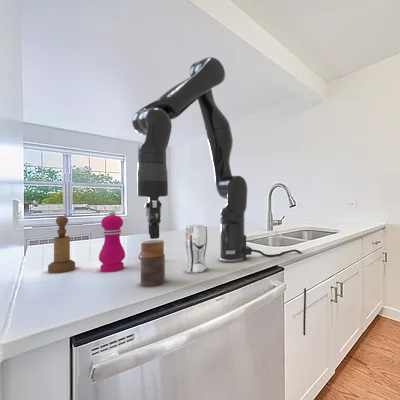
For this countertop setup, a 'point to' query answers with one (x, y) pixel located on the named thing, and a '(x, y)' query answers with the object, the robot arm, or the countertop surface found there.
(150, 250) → the brown wooden short cylinder
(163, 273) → the cylinder
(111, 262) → the pepper mill
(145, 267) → the walnut chip high
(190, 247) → the beer glass
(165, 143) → the robot arm
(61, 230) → the wooden knobbed stamp
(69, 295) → the countertop surface
